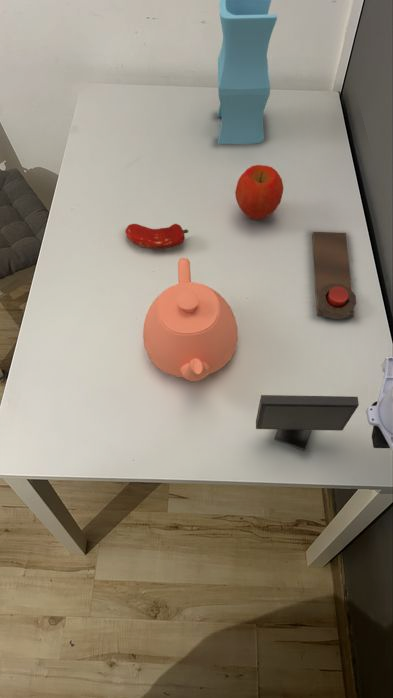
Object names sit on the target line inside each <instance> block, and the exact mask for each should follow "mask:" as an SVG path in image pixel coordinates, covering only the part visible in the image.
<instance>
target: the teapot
mask: <svg viewBox="0 0 393 698" xmlns="http://www.w3.org/2000/svg"><path fill="white" fill-rule="evenodd" d="M177 278H178V283H176V284H174V285H171V286H170V287H168V288H166V289H164V290H163V291H162V292H161V293H159V294H158V295H157V297H156V298H155V299H154V300H153V301H152V302H151V305H150V306H149V307H148V310H147V312H146V315H145V318H144V322H143V327H142V339H143V345H144V349H145V351H146V354H147V356H148V358H149V359H150V361H151V362H152V363H153V365H154V366H156V367H157V368H158V369H159V370H161V371H162V372H163V373H166V374H168V375H170V376H173V377H177V378H183V379H185V380H187V381H191V382H195V381H201V380H203V379H205V378H207V376H209V375H211V374H213V373H216V372H218V371H219V370H220V369H222V368H223V367H224V366H225V365H226V364H228V362H229V361H230V360H231V359H232V357H233V355H234V353H235V351H236V350H237V349H236V348H237V344H238V337H239V336H238V335H239V334H238V324H237V320H236V317H235V315H234V311H233V310H232V308H231V306H230V305H229V303H228V302H227V300H226V299H225V298H224V297H223V296H222V295H221V294H220V293H219V292H217V291H216V290H215V289H214V288H212V287H210V286H208V285H206V284H204V283H199V282H192V274H191V261H190V260H189V258H187V257H181V258H179V259H178V261H177Z"/></svg>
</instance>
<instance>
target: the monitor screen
mask: <svg viewBox="0 0 393 698" xmlns="http://www.w3.org/2000/svg"><path fill="white" fill-rule="evenodd" d="M359 403H360V402H359V398H358V396H343V395H342V396H340V395H339V396H338V395H282V394H281V395H279V394H277V395H275V394H272V395H271V394H261V395H260V399H259V404H258V409H257V413H256V418H255V429H256V430H278V429H283V430H311V431H338V432H339V431H344V429H345V427H346V426H347V424H348V423H349V421H350V420H351V418H352V417H353V415H354V413H355V412H356V410H357V409H358V407H360V406H359V405H360V404H359Z"/></svg>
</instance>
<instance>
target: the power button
mask: <svg viewBox="0 0 393 698" xmlns="http://www.w3.org/2000/svg"><path fill="white" fill-rule="evenodd" d="M348 297H349V294H348V292H347V290H346V289H344V288H343V287H339V286H337V287H333V288H331V289H330V291H329V294H328V296H327V301H328V303H329V304H330V305H331V306H333V307H342V306H344V305H345V304H346V302H347V299H348Z"/></svg>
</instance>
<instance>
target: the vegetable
mask: <svg viewBox="0 0 393 698" xmlns="http://www.w3.org/2000/svg"><path fill="white" fill-rule="evenodd" d="M124 232H125V236H126V238H127V239H128V240H129V242H131V243H132V244H134V245H136V246H139V247H141V248H146V249H153V250H155V249H156V250H157V249H160V250H161V249H170V248H174V247H177V246H180V245H182V244H184V242H185V239H186V238H185V234H188V233H189V230H188V229H183V228H182V226H181V225H180V224H178V223H172V225H169V226H168V227H160V228H150V227H147V226H144V225H141V224H138V223H131V224H128V226H127V227H126V228H125V231H124Z"/></svg>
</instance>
